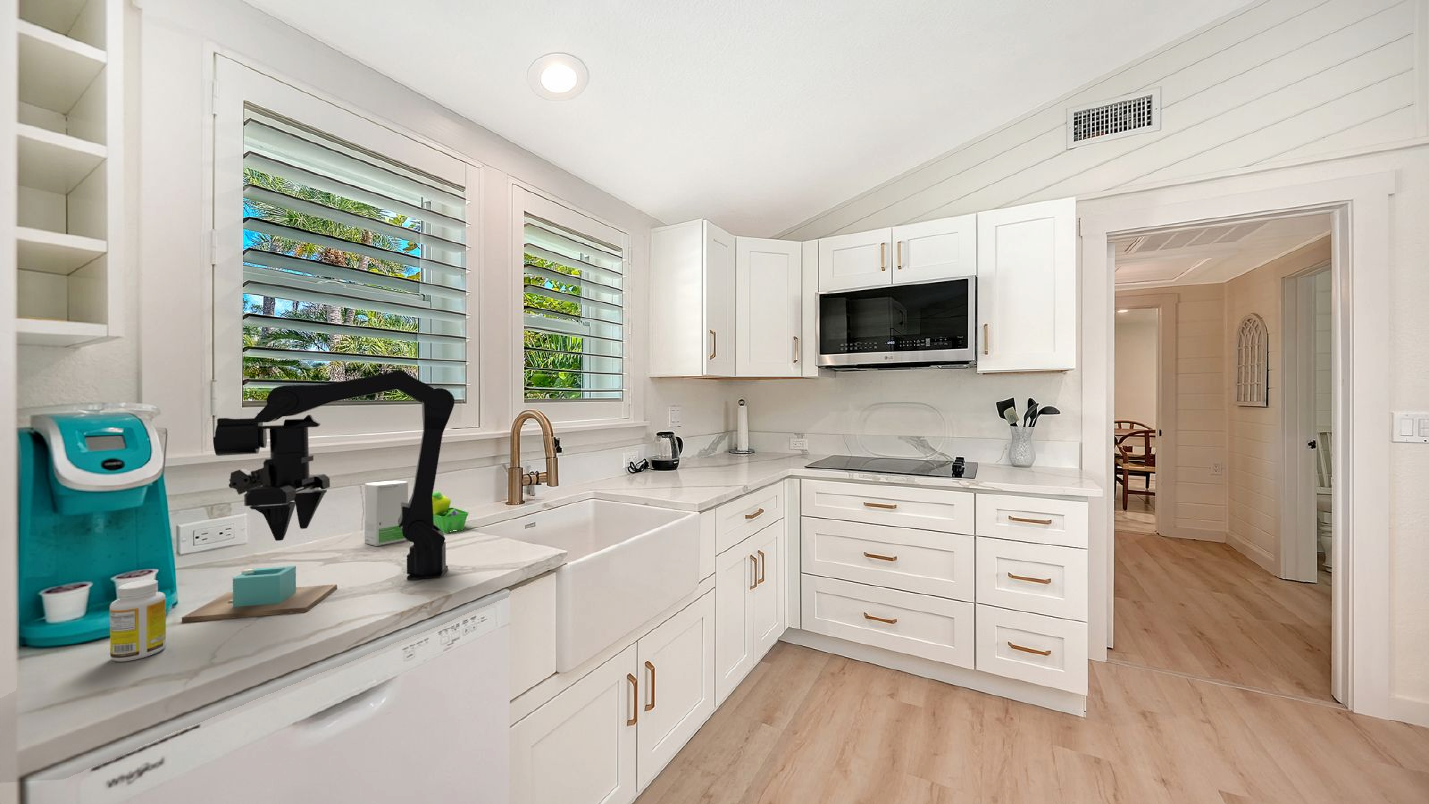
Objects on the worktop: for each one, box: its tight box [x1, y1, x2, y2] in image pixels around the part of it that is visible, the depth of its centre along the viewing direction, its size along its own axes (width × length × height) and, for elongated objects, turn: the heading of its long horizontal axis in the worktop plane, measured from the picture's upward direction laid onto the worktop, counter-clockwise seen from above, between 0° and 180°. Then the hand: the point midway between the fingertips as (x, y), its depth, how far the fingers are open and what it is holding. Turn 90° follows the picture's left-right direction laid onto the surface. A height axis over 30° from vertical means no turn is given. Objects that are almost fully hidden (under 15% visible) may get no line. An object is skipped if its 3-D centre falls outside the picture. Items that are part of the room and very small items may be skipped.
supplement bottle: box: [109, 579, 167, 662], centre depth 78 cm, size 6×6×10 cm
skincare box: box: [364, 480, 409, 547], centre depth 140 cm, size 8×7×16 cm
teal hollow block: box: [232, 565, 297, 607], centre depth 97 cm, size 7×6×6 cm
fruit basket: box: [432, 491, 469, 534], centre depth 153 cm, size 11×9×11 cm
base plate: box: [181, 584, 338, 623], centre depth 97 cm, size 18×12×1 cm, turn 104°
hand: (292, 534), depth 102 cm, fingers open, 9 cm apart
